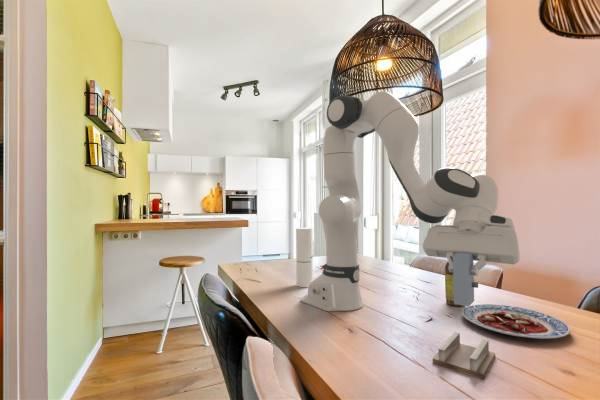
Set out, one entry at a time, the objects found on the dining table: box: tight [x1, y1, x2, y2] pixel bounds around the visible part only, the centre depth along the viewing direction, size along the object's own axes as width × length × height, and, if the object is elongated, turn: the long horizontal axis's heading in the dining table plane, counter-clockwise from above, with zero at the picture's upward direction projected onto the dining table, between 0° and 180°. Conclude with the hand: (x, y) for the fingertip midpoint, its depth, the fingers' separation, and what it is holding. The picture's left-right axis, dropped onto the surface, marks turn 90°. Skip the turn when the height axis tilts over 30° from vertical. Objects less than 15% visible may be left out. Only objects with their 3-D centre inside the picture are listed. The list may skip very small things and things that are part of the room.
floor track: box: [432, 331, 496, 380], centre depth 71 cm, size 10×12×4 cm
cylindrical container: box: [295, 227, 314, 288], centre depth 137 cm, size 7×7×25 cm
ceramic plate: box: [461, 303, 571, 340], centre depth 91 cm, size 26×26×3 cm
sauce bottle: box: [444, 261, 463, 307], centre depth 111 cm, size 7×6×20 cm
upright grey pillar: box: [453, 252, 479, 307], centre depth 71 cm, size 4×5×11 cm
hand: (462, 272), depth 71 cm, fingers closed on upright grey pillar, 3 cm apart
